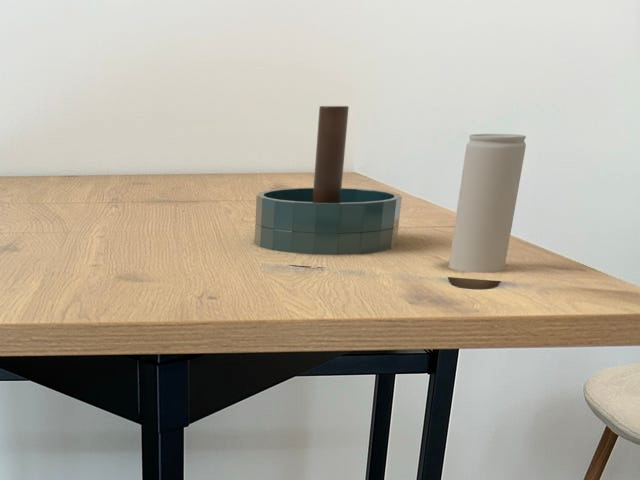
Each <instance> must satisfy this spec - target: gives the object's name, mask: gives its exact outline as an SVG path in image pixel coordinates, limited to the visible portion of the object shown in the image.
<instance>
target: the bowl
mask: <svg viewBox="0 0 640 480" xmlns="http://www.w3.org/2000/svg"><path fill="white" fill-rule="evenodd" d="M313 189H314V187H292V188H291V187H290V188H289V187H288V188H278V189H269V190H268V189H267V190H264V191H261V192H258V193H257V195H256V201H255V202H256V203H255V220H254V221H255V224H254V245H256V246H258V247H259V248H262V249H266V250H270V251H275V252H283V253H290V254H301V255H320V256H321V255H323V256H325V255H327V256H328V255H332V256H333V255H334V256H342V255H345V256H346V255H364V254H373V253H380V252H381V253H382V252H384V251H389V250H392V249H394V248H395V247H397V243H398V234H399V225H400V216H401V208H402V200H403V196H402V195H401V194H399V193H395V192H392V191H386V190H380V189H369V188H358V187H357V188H356V187H342V189H341V201H340V203H317V202H313ZM289 266H291V267H300V268H310V267H311V266H307V265H297V264H289ZM316 267H317V268H316V269H324V267H320V266H316Z"/></svg>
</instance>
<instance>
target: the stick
mask: <svg viewBox="0 0 640 480" xmlns="http://www.w3.org/2000/svg"><path fill="white" fill-rule="evenodd" d="M318 109H319V110H318V121H317V133H316V135H317V136H316V147H315V148H316V149H315V164H314V177H313V188H314V189H313V202H317V203H340V201H341V189H342V188H343V179H344V166H345V165H344V164H345V155H346V142H347V132H348V131H347V130H348V119H349V109H350V108H349V106H348V105H320V106H319V108H318Z"/></svg>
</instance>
